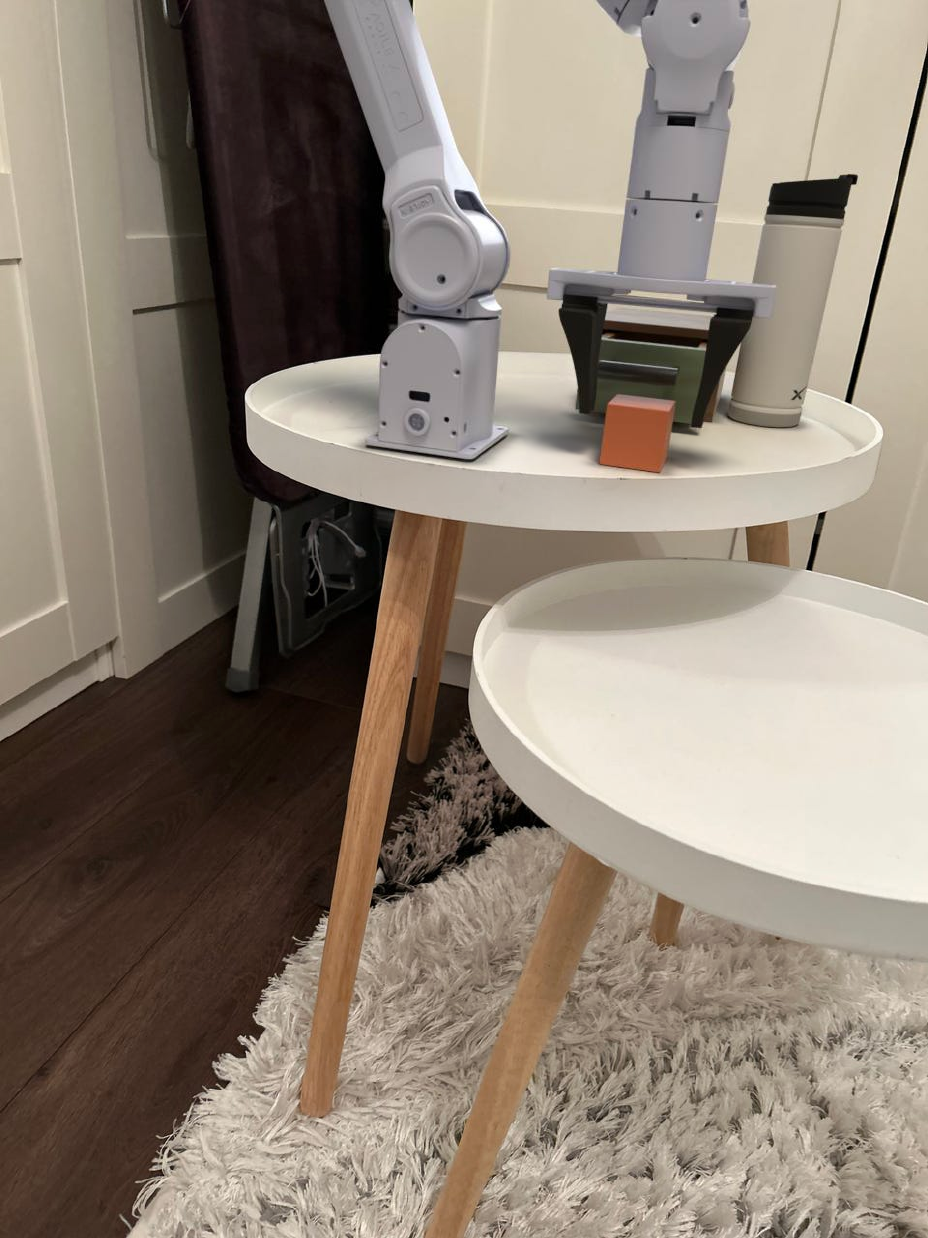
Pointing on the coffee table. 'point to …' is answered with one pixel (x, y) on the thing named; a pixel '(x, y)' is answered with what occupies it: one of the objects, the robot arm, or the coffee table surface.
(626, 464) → the block
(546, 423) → the coffee table surface
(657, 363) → the drawer
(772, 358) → the travel mug
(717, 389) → the cabinet
